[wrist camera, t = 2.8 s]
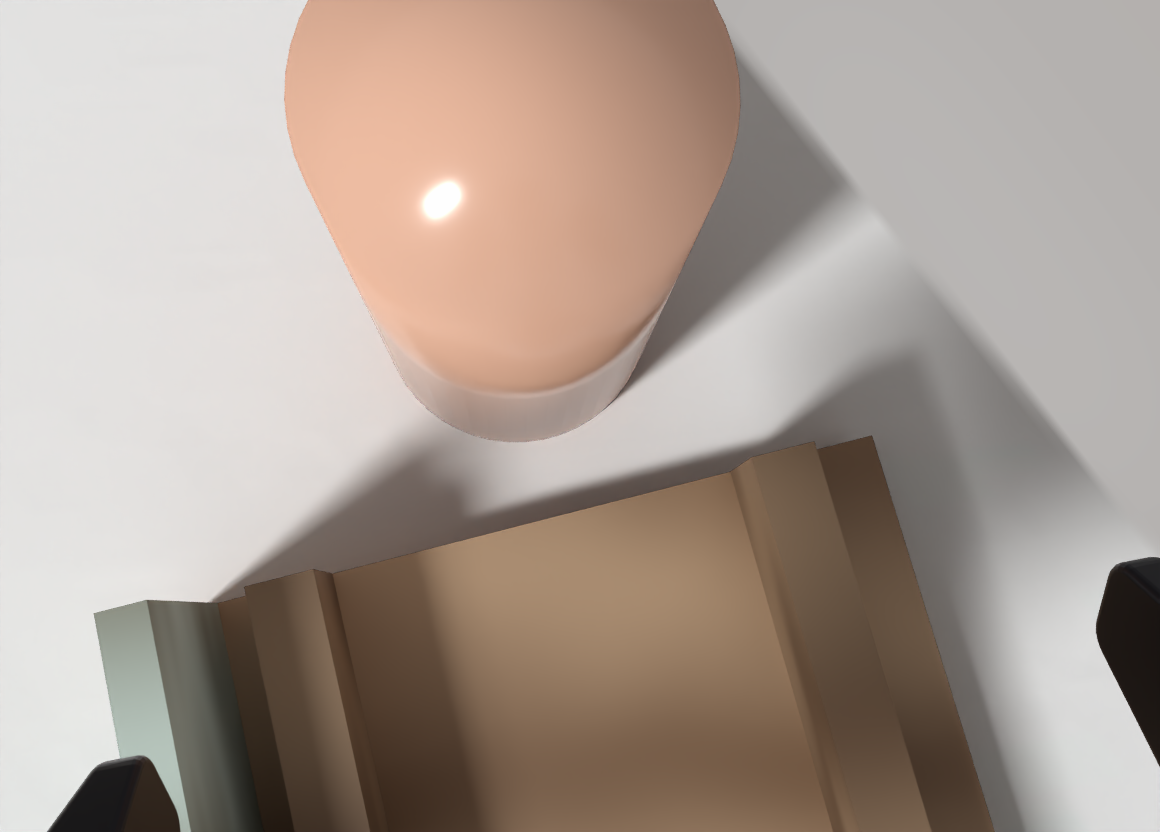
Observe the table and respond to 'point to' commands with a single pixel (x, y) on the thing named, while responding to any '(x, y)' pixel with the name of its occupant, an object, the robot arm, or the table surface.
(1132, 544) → the table surface
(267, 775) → the walnut shelf
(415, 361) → the peach pink cylinder
